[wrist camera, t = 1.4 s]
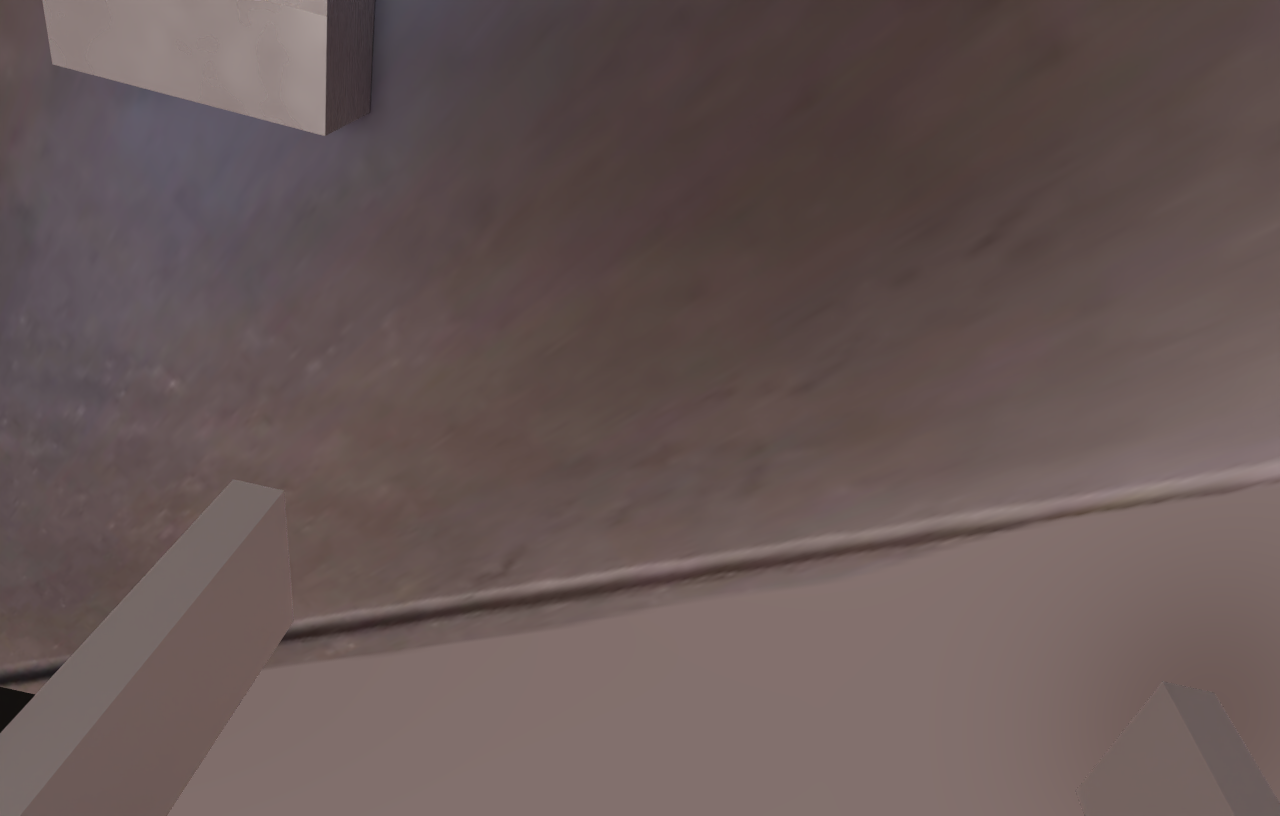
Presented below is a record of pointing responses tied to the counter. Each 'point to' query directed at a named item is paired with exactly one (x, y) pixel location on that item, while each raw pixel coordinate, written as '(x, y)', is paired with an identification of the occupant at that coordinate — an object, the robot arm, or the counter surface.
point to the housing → (228, 53)
